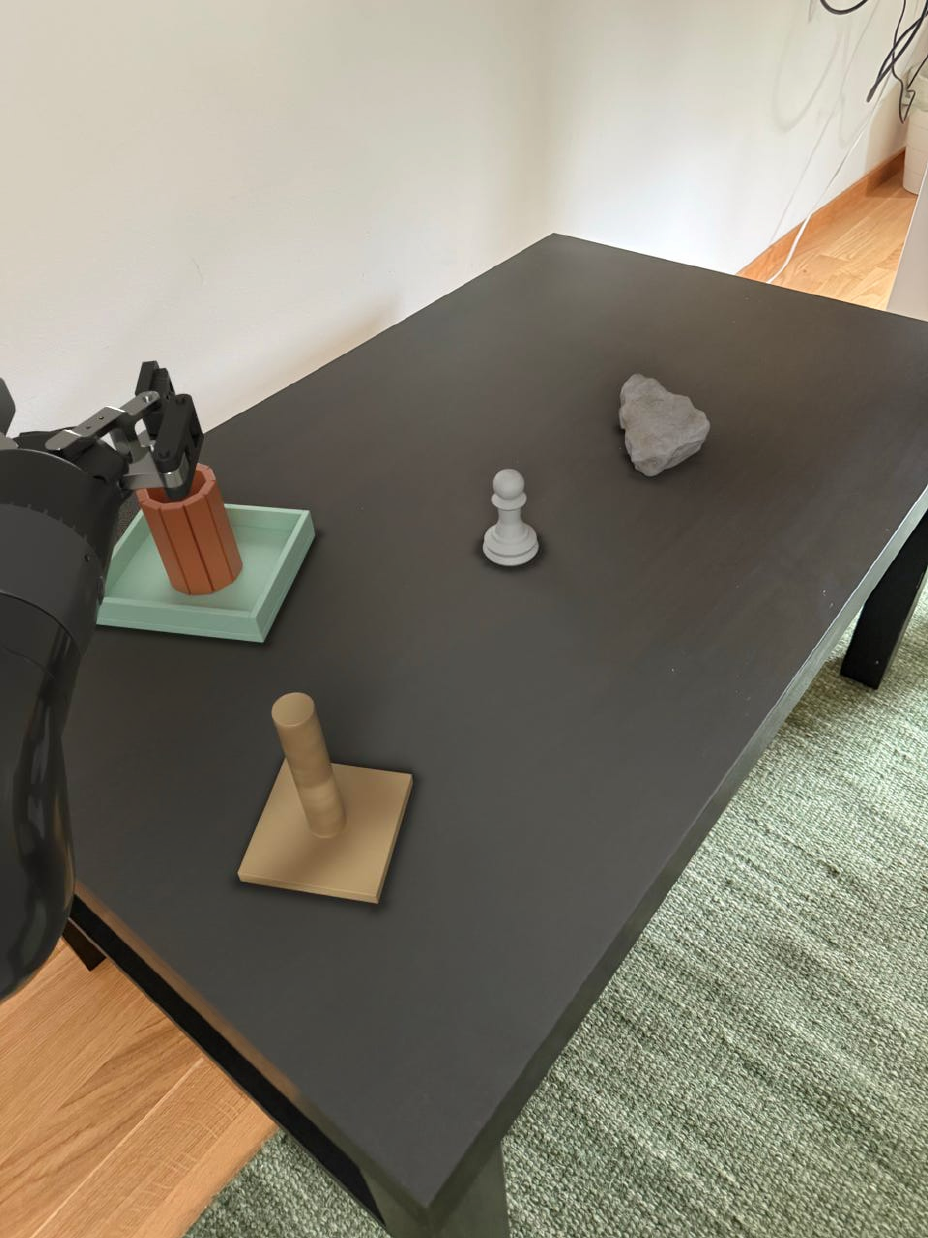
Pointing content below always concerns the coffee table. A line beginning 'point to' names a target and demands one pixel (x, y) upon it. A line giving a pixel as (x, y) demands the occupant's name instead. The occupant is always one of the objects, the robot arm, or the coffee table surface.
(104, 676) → the coffee table surface
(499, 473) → the chess piece
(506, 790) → the coffee table surface
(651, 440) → the stone
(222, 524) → the ring collar
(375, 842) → the peg stand
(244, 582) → the tray
